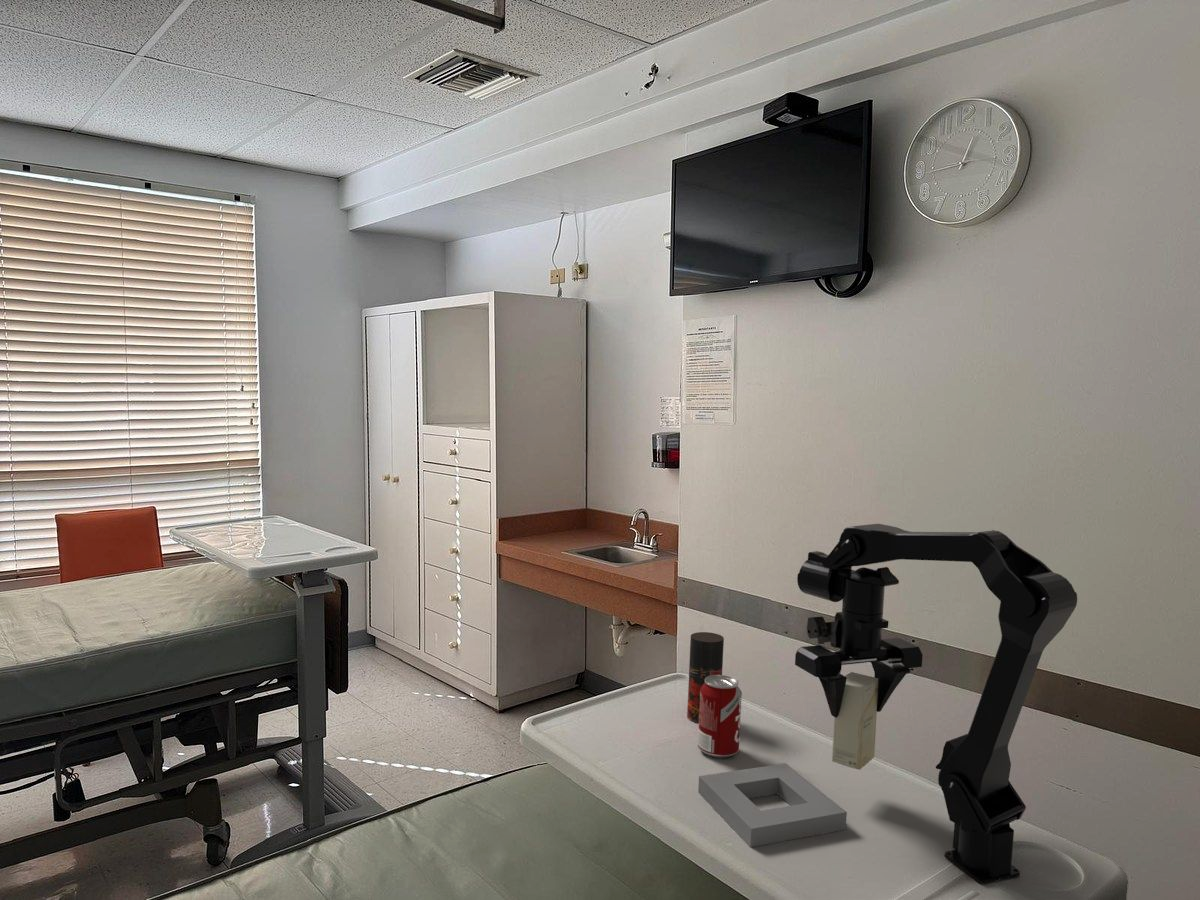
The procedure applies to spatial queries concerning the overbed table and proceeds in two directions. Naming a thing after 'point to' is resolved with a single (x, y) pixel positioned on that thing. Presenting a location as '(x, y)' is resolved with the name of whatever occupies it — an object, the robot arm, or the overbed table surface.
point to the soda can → (719, 716)
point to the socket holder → (777, 824)
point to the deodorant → (702, 667)
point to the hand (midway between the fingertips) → (855, 713)
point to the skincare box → (856, 722)
